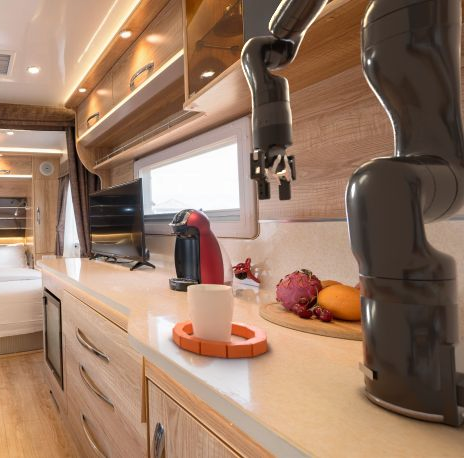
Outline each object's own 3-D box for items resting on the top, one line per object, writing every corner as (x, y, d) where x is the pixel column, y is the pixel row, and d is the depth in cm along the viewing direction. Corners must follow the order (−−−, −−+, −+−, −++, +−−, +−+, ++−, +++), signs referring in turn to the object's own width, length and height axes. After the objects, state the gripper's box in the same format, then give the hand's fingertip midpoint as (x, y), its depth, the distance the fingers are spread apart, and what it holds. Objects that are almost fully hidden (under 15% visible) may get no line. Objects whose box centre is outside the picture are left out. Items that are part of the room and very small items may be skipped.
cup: (225, 336, 74) (222, 283, 74) (244, 351, 65) (240, 290, 65) (184, 337, 75) (181, 284, 75) (197, 352, 66) (193, 291, 66)
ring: (284, 344, 68) (284, 332, 68) (231, 365, 59) (231, 352, 59) (208, 324, 84) (207, 315, 84) (156, 339, 74) (156, 328, 74)
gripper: (271, 117, 67) (275, 197, 66) (306, 126, 74) (310, 198, 74) (236, 128, 73) (239, 201, 73) (271, 135, 80) (274, 202, 80)
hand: (275, 200), depth 73 cm, fingers open, 8 cm apart
